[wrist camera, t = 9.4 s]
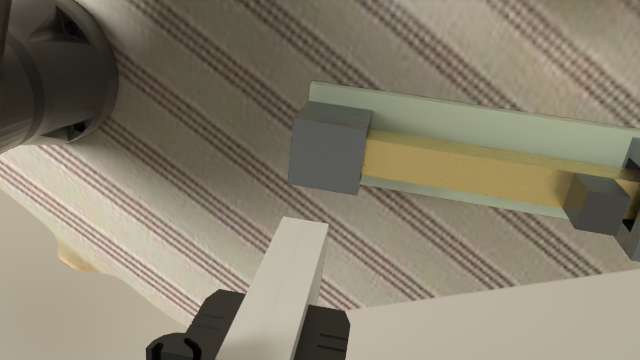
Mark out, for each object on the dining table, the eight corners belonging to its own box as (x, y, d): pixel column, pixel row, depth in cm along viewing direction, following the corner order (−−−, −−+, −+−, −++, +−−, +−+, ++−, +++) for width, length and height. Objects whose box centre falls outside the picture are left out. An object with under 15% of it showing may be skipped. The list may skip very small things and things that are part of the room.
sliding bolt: (334, 156, 47) (321, 185, 41) (338, 123, 46) (326, 148, 40) (655, 209, 44) (695, 249, 38) (669, 175, 43) (712, 210, 36)
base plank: (303, 169, 51) (300, 174, 50) (312, 80, 48) (310, 83, 47) (652, 228, 47) (658, 234, 46) (691, 136, 44) (698, 140, 43)
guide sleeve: (302, 159, 49) (287, 183, 44) (308, 100, 47) (293, 118, 42) (363, 169, 49) (356, 195, 43) (372, 110, 46) (366, 129, 41)
